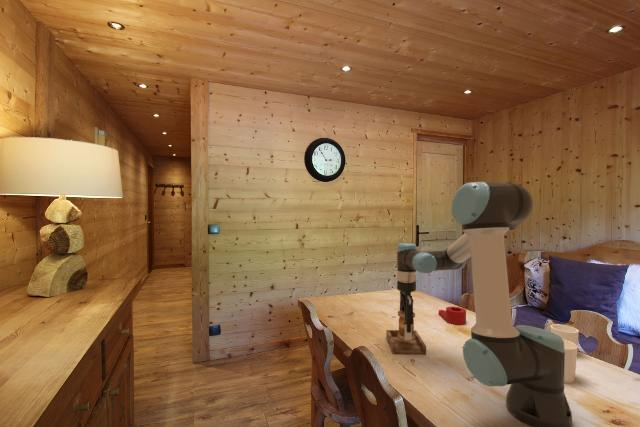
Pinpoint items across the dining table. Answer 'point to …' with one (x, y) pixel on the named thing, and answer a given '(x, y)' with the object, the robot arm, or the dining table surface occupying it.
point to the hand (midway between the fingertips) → (406, 335)
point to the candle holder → (570, 361)
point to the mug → (566, 332)
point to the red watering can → (454, 315)
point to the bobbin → (402, 326)
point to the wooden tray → (405, 344)
